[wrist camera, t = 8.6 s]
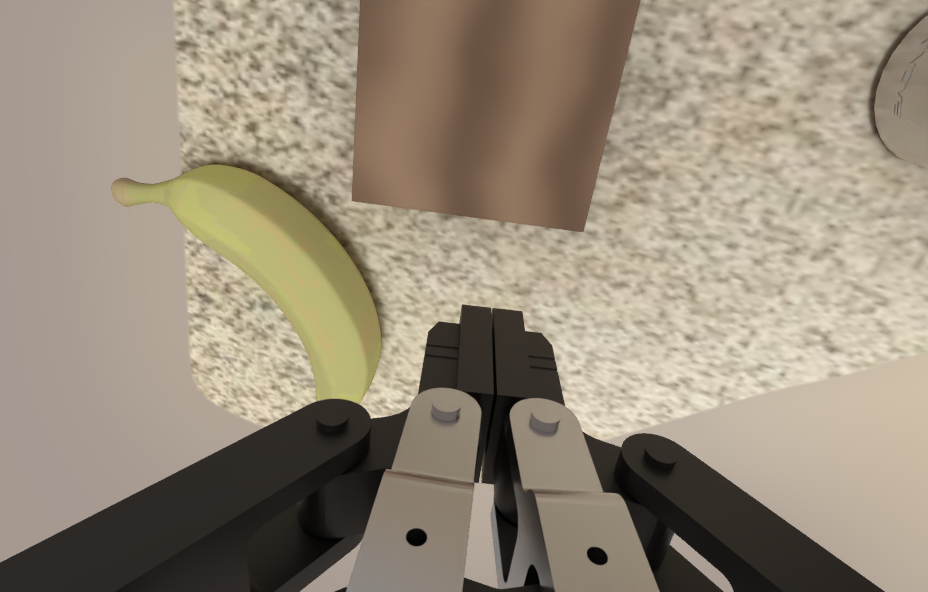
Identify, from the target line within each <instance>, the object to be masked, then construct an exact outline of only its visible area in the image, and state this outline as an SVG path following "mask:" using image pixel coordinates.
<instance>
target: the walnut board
mask: <svg viewBox="0 0 928 592" xmlns="http://www.w3.org/2000/svg"><path fill="white" fill-rule="evenodd" d="M639 4H640V0H360V19H359V42H358V66H357V90H356V114H355V138H354V161H353V185H352V201H355V202H363V203H370V204H378V205H385V206H393V207H400V208H407V209H415V210H422V211H430V212H437V213H445V214H452V215H460V216H467V217H474V218H482V219H489V220H497V221H504V222H512V223H519V224H526V225H534V226H541V227H549V228H556V229H564V230H571V231H578V232H583V231H584V227H585V223H586V219H587V215H588V211H589V207H590V202H591V198H592V194H593V190H594V186H595V182H596V178H597V174H598V170H599V166H600V162H601V158H602V154H603V150H604V146H605V142H606V138H607V134H608V129H609V125H610V121H611V117H612V113H613V109H614V105H615V101H616V97H617V93H618V89H619V85H620V81H621V77H622V73H623V69H624V65H625V61H626V57H627V52H628V48H629V44H630V40H631V36H632V32H633V28H634V24H635V20H636V16H637V12H638V8H639Z"/></svg>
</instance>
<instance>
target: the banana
mask: <svg viewBox="0 0 928 592" xmlns="http://www.w3.org/2000/svg"><path fill="white" fill-rule="evenodd" d="M111 189H112V194H113V197H114V198H115V200H116V201H117V202H118V203H120V204H121V205H123V206H127V207H129V206H133V205H138V204H143V203H158V204H162V205H165V206H168V207H169V208H170V209H171V211H172V212H173V214H174V215H175V216H176V218H177V219H178V220H179V221H180V222H181V223H182V224H183V225H184V226H185V227H186V228H187V229H188V230H189V231H190V232H191V233H192V234H193V235H195V236H196V237H197V238H198V239H199V240H201V241H202V242H203V243H205V244H206V245H207V246H209V247H210V248H212V249H213V250H214V251H216V252H217V253H219V254H220V255H222V256H223V257H225V258H226V259H227V260H229V261H230V262H232V263H233V264H234V265H236V266H237V267H238V268H240V269H241V270H242V271H243V272H245V273H246V274H247V275H248V276H249V277H250V278H251V279H253V280H254V281H255V282H256V283H257V284H258V285H259V286H260V287H261V288H262V289H263V290H264V291H265V292H266V293H267V294H268V295H269V296H270V297H271V298H272V299H273V300H274V302H275V303H276V304H277V305H278V307H279V308H280V309H281V311H282V312H283V313H284V315H285V316H286V318H287V319H288V320H289V322H290V323H291V325H292V326H293V327H294V329H295V331H296V332H297V334H298V336H299V337H300V339H301V341H302V343H303V345H304V347H305V349H306V351H307V354H308V357H309V360H310V363H311V366H312V369H313V373H314V379H315V387H316V398H317V401H320V400H325V399H345V400H349V401H353V402H355V403H357V404H359V403H360V402H361V401H362V399H363V397H364V395H365V394H366V392H367V390H368V388H369V386H370V384H371V382H372V380H373V377H374V374H375V372H376V368H377V365H378V361H379V357H380V352H381V333H380V326H379V320H378V316H377V312H376V308H375V305H374V302H373V299H372V297H371V294H370V292H369V290H368V288H367V286H366V284H365V282H364V280H363V278H362V276H361V274H360V272H359V271H358V269H357V267H356V266H355V264H354V262H353V261H352V259H351V258H350V256H349V255H348V254H347V252H346V251H345V249H344V248H343V247H342V246H341V244H340V243H339V242H338V240H337V239H336V238H335V237H334V236H333V235H332V234H331V232H330V231H329V230H328V229H327V228H326V227H325V226H324V225H323V224H322V223H321V222H320V221H319V220H318V219H317V218H316V217H315V216H313V215H312V214H311V213H310V212H309V211H308V210H307V209H306V208H305V207H304V206H302V205H301V204H300V203H299V202H298V201H296V200H295V199H294V198H292V197H291V196H290V195H288V194H287V193H286V192H284V191H283V190H281V189H280V188H278V187H277V186H275V185H274V184H272V183H270V182H269V181H267V180H265V179H264V178H262V177H260V176H258V175H256V174H254V173H252V172H249V171H246V170H243V169H240V168H236V167H231V166H226V165H206V166H201V167H198V168H195V169H192V170H190V171H188V172H186V173H184V174H182V175H180V176H178V177H177V178H175V179H172V180H168V181H165V182H161V183H157V184H144V183H139V182H136V181H133V180H131V179H128V178H120V179H118V180H116V181H114V182H113V183H112V187H111Z"/></svg>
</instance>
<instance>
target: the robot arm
mask: <svg viewBox="0 0 928 592" xmlns="http://www.w3.org/2000/svg"><path fill="white" fill-rule="evenodd" d="M874 111H875V124H876V126H877V129H878V132H879V135H880V138H881V139H882V141H883V142H884V143H885V145H886V146H887V148H888V149H889V150H890V151H891V152H893V153H894V154H895V155H897V156H898V157H899V158H901V159H903V160H906V161H908V162H911V163H913V164H916V165H919V166H922V167H925V168H928V15H927V16H926V17H924V18H923V19H922V20H921V21H920V22H919V23H918V24H917V25H916V26H915V27H914V28H913V29H912V30H911V31H910V32H909V33H908V34H907V35H906V36H905V38H904V39H903V40H902V41H901V43H900V44H899V45H898V47H897V48H896V49H895V51H894V52H893V54H892V56H891V57H890V59H889V61H888V63H887V65H886V66H885V68H884V70H883V73H882V76H881V78H880V81H879V84H878V87H877V91H876V98H875V105H874ZM481 466H482V483H486V484H494V498H493V504H492V509H491V526H492V535H493V544H494V553H495V563H496V572H497V581H498V589H496V588H492V587H489V586H487V585H484V584H481V583H478V582H475V581H472V580H469V579H467V578H464V572H465V563H466V555H467V546H468V537H469V528H470V519H471V510H472V502H473V493H474V482H475V483H479V477H480V472H481ZM674 533H675V534H677V535H678V536H679V537H680V538H681V539H682V540H684V541H685V542H686V543H687V544H688V545H690V546H691V547H692V548H693V549H694V550H695V551H697V552H698V553H699V554H700V555H701V556H703V557H704V558H705V559H706V560H707V561H708V562H710V563H711V564H712V565H713V566H714V567H715V568H717V569H718V570H719V571H720V572H721V573H722V574H723V575H724V576H725V577H726V578H727V579H728V581H729V582H730V584H731V586H732V588H733V591H734V592H884V591H883V590H882V589H880V588H879V587H877V586H876V585H874V584H873V583H872V582H870V581H869V580H867V579H866V578H865V577H863V576H862V575H861V574H859V573H858V572H856V571H855V570H853V569H852V568H851V567H849V566H848V565H847V564H845V563H844V562H842V561H841V560H840V559H838V558H836V557H835V556H834V555H833V554H831V553H830V552H828V551H827V550H826V549H824V548H823V547H821V546H820V545H819V544H817V543H816V542H814V541H813V540H811V539H810V538H809V537H807V536H806V535H805V534H803V533H802V532H800V531H799V530H798V529H796V528H795V527H793V526H792V525H791V524H789V523H788V522H786V521H785V520H783V519H782V518H781V517H779V516H778V515H777V514H775V513H774V512H772V511H771V510H770V509H768V508H767V507H765V506H764V505H763V504H761V503H760V502H758V501H757V500H756V499H754V498H753V497H751V496H750V495H749V494H747V493H746V492H744V491H743V490H742V489H740V488H739V487H738V486H736V485H735V484H733V483H732V482H731V481H729V480H728V479H726V478H725V477H724V476H722V475H721V474H719V473H718V472H717V471H715V470H714V469H712V468H711V467H710V466H708V465H707V464H705V463H704V462H702V461H701V460H700V459H698V458H697V457H696V456H694V455H693V454H691V453H690V452H689V451H687V450H686V449H684V448H683V447H682V446H680V445H678V444H677V443H675V442H673V441H671V440H670V439H667V438H665V437H662V436H658V435H654V434H646V433H642V434H635V435H632V436H629V437H628V438H627V439H626V440H625V441H624V442H623V444H622V447H618V446H615V445H612V444H609V443H606V442H603V441H601V440H598V439H595V438H593V437H591V436H589V435H587V434H586V433H584V432H582V429H581V426H580V424H579V421H578V419H577V417H576V416H575V415H574V414H573V413H572V412H571V411H570V410H569V409H568V408H566V407H565V404H564V399H563V395H562V390H561V385H560V381H559V376H558V372H557V367H556V362H555V357H554V353H553V348H552V345H551V344H550V343H549V341H548V340H547V339H546V338H545V337H544V336H543V335H542V333H536V332H527V331H525V328H524V320H523V313H522V311H515V310H506V309H497V308H493V309H492V313H491V308H488V307H479V306H470V305H462V308H461V315H460V323H459V324H456V323H447V322H438V323H437V324H436V325H435V326H434V327H433V328H432V329H431V330H430V331H429V332H428V338H427V344H426V350H425V357H424V362H423V368H422V374H421V380H420V386H419V392H418V395H417V396H416V397H415V398H414V399H413V401H412V403H411V406H410V407H409V408H408V409H407V410H405V411H403V412H401V413H399V414H396V415H392V416H388V417H381V418H373V419H371V418H370V415H369V413H368V412H367V411H366V409H365V408H363V407H362V406H361V405H359V404H357V403H355V402H353V401H349V400H345V399H325V400H320V401H317V402H314V403H312V404H309V405H307V406H305V407H303V408H301V409H299V410H298V411H296V412H294V413H292V414H290V415H288V416H286V417H284V418H282V419H280V420H278V421H276V422H274V423H272V424H270V425H268V426H266V427H264V428H262V429H260V430H258V431H257V432H255V433H253V434H251V435H249V436H247V437H245V438H243V439H241V440H239V441H237V442H235V443H233V444H231V445H229V446H227V447H225V448H223V449H221V450H219V451H217V452H215V453H214V454H212V455H210V456H208V457H206V458H204V459H202V460H200V461H198V462H196V463H194V464H192V465H190V466H188V467H187V468H184V469H182V470H180V471H178V472H176V473H175V474H173V475H171V476H169V477H167V478H165V479H163V480H161V481H159V482H157V483H155V484H153V485H151V486H149V487H147V488H145V489H143V490H141V491H139V492H137V493H136V494H133V495H132V496H130V497H128V498H126V499H124V500H122V501H120V502H118V503H116V504H114V505H112V506H110V507H108V508H106V509H104V510H102V511H100V512H98V513H97V514H94V515H93V516H91V517H89V518H87V519H85V520H83V521H81V522H79V523H77V524H75V525H73V526H71V527H69V528H67V529H66V530H63V531H61V532H59V533H57V534H55V535H54V536H52V537H50V538H48V539H46V540H44V541H42V542H40V543H38V544H36V545H34V546H32V547H30V548H28V549H26V550H24V551H22V552H20V553H19V554H16V555H14V556H12V557H10V558H8V559H7V560H5V561H3V562H1V563H0V592H300V591H301V590H302V589H303V588H305V587H306V586H307V585H308V584H310V583H311V582H312V581H313V580H315V579H316V578H317V577H319V576H320V575H321V574H322V573H324V572H325V571H326V570H327V569H328V568H330V567H331V566H332V565H334V564H335V563H336V562H337V561H339V560H340V559H341V558H343V557H344V556H345V555H346V554H348V553H349V552H350V551H351V550H352V549H354V548H355V547H356V546H357V545H358V544H359V543H360V542H361V540H362V539H363V540H362V543H361V546H360V549H359V552H358V555H357V558H356V562H355V565H354V568H353V571H352V574H351V577H350V581H349V584H348V587H345V588H343V589H340V590H338V591H335V592H723V591H722V590H721V589H720V588H719V587H718V586H716V585H715V584H714V583H713V582H712V581H710V580H709V579H708V578H707V577H706V576H705V575H704V574H703V573H701V572H700V571H699V570H698V569H697V568H696V567H695V566H693V565H692V564H691V563H690V562H689V561H688V560H687V559H685V558H684V557H683V556H682V555H681V554H680V553H678V552H677V551H676V550H675V549H674V548H673V547H672V546H670V545H669V544H670V542H671V539H672V537H673V535H674Z"/></svg>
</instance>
